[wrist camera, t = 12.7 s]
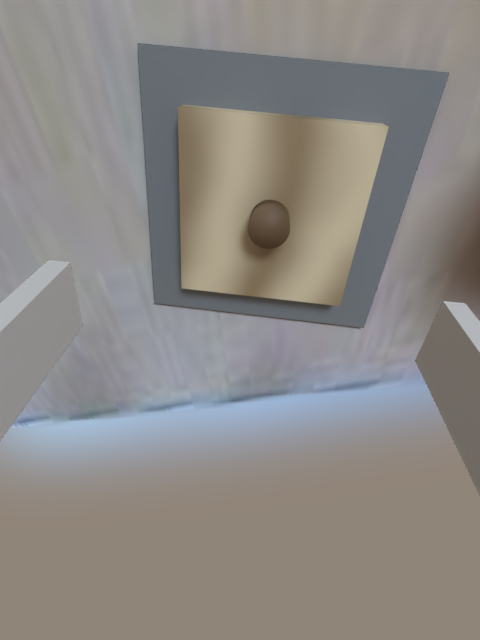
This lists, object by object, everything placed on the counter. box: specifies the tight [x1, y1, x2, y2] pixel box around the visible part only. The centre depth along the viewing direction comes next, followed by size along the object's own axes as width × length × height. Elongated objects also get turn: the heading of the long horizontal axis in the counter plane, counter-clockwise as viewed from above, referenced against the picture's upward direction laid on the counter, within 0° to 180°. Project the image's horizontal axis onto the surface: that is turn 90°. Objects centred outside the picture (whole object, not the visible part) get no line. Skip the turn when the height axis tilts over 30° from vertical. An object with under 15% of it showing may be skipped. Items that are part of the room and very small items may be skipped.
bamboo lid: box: [178, 105, 389, 306], centre depth 22 cm, size 11×11×3 cm
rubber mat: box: [138, 43, 449, 328], centre depth 24 cm, size 16×16×1 cm
